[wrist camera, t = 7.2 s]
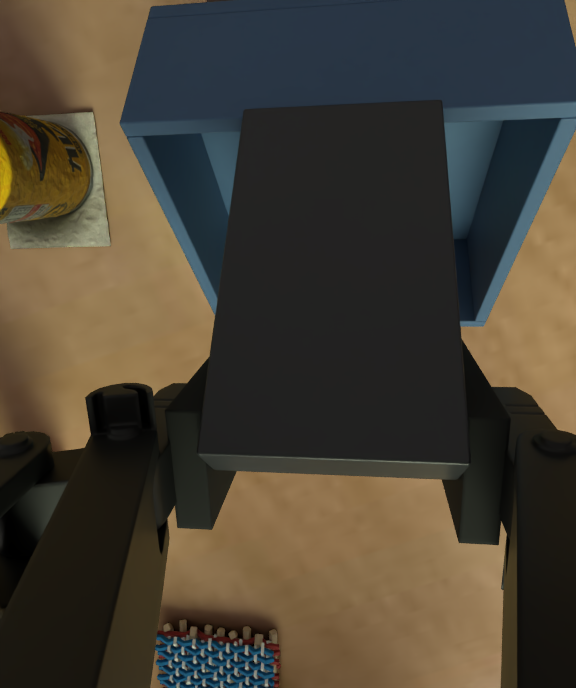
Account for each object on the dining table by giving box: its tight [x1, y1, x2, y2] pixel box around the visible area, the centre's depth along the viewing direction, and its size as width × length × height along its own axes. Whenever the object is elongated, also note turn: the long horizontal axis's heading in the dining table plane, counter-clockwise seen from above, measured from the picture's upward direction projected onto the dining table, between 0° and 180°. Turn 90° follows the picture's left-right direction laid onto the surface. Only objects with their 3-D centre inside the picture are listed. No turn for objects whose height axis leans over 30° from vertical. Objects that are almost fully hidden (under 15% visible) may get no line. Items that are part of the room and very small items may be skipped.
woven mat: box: [155, 620, 281, 688], centre depth 46 cm, size 10×11×2 cm
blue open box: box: [120, 0, 576, 480], centre depth 18 cm, size 12×12×14 cm
